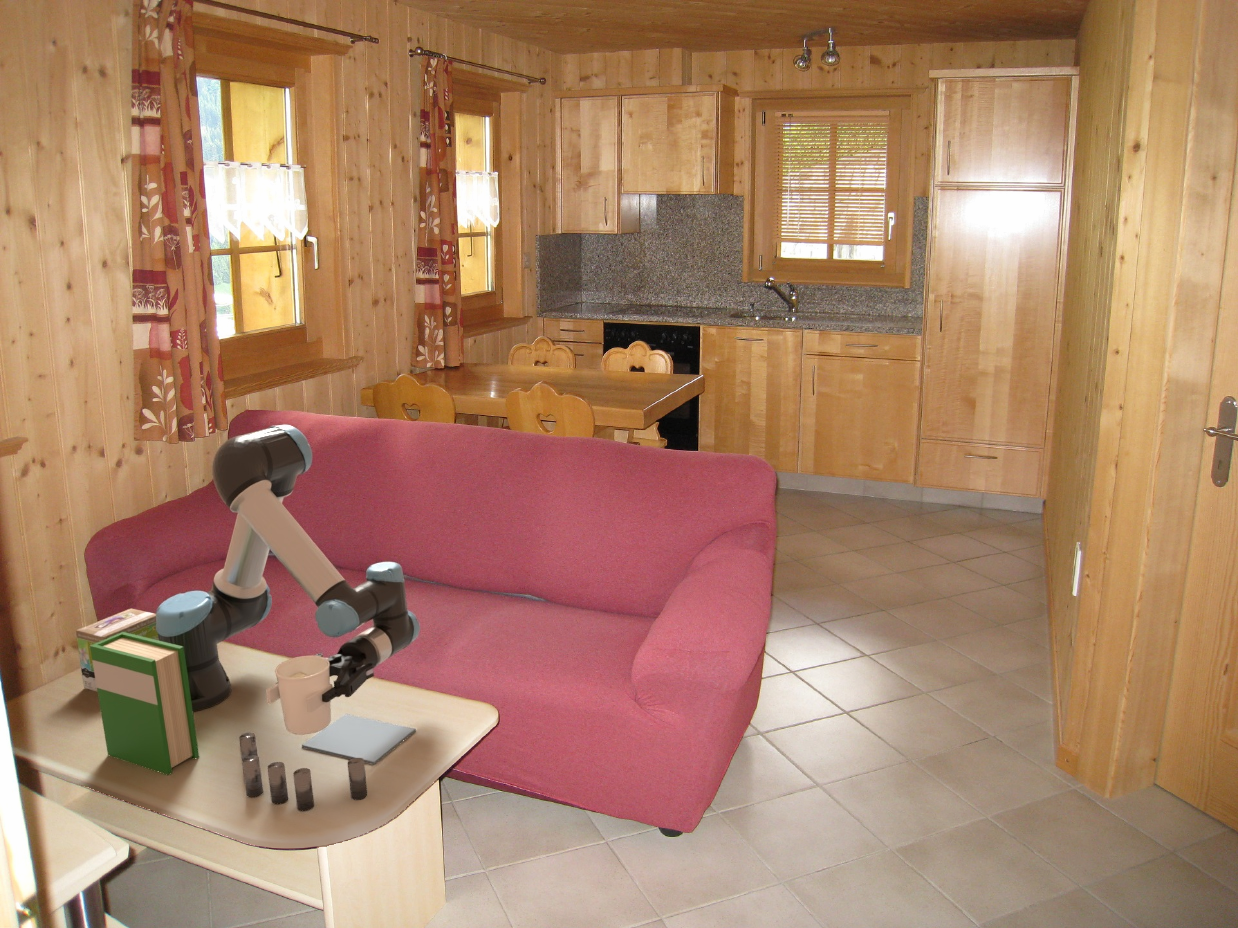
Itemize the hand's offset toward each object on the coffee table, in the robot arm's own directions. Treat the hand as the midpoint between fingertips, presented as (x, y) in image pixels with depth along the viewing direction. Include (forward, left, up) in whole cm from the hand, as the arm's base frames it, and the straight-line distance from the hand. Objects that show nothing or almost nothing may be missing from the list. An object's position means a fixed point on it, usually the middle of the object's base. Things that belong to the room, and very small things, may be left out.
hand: (288, 701), depth 186 cm
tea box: (-70, +22, -18) cm, 75 cm away
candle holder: (0, +5, -7) cm, 9 cm away
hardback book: (-35, -2, -18) cm, 40 cm away
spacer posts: (0, -2, -18) cm, 18 cm away
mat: (0, +19, -18) cm, 26 cm away
